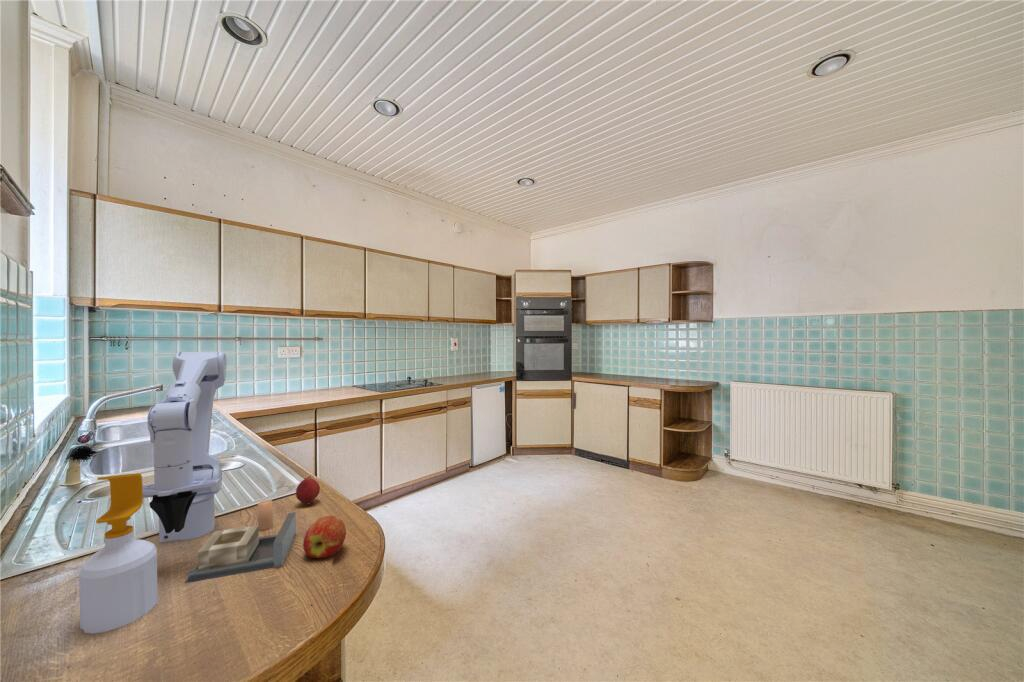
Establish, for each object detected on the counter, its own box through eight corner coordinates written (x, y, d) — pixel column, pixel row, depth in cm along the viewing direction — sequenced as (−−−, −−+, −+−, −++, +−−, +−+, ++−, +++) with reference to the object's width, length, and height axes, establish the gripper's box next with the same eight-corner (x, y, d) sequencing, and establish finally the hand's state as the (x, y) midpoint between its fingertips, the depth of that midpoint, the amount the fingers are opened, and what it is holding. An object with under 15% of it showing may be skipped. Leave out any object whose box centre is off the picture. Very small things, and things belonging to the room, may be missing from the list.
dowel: (256, 535, 90) (255, 506, 89) (260, 529, 92) (259, 500, 92) (271, 533, 91) (270, 504, 90) (274, 527, 93) (274, 499, 93)
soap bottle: (66, 647, 58) (61, 487, 57) (101, 607, 66) (97, 467, 66) (142, 629, 62) (139, 478, 61) (167, 593, 70) (164, 460, 69)
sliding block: (198, 572, 74) (198, 551, 74) (215, 549, 82) (215, 531, 81) (246, 564, 77) (246, 544, 76) (258, 543, 84) (258, 525, 84)
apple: (297, 567, 78) (297, 528, 77) (315, 544, 86) (314, 509, 86) (338, 565, 78) (337, 527, 78) (351, 542, 87) (351, 508, 86)
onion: (309, 509, 103) (309, 480, 102) (291, 507, 104) (290, 478, 104) (324, 500, 108) (324, 472, 108) (306, 498, 109) (306, 471, 109)
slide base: (184, 588, 71) (184, 556, 71) (213, 550, 84) (213, 523, 83) (282, 571, 76) (282, 541, 76) (296, 537, 89) (295, 512, 89)
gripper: (113, 474, 69) (115, 547, 70) (209, 465, 74) (210, 534, 74) (136, 461, 76) (138, 528, 76) (223, 454, 81) (224, 517, 81)
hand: (175, 530), depth 76 cm, fingers closed
